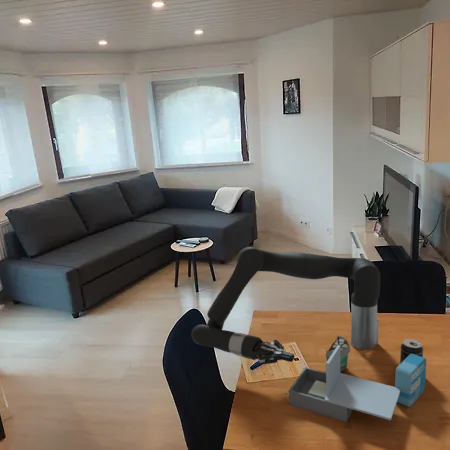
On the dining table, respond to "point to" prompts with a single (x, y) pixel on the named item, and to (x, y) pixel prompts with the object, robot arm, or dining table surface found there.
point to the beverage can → (410, 349)
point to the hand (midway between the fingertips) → (293, 358)
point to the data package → (410, 379)
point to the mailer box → (315, 395)
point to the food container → (343, 352)
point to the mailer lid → (358, 391)
